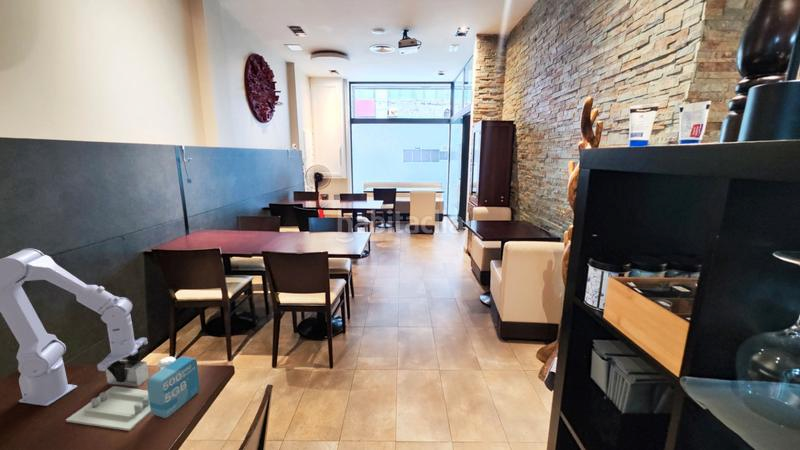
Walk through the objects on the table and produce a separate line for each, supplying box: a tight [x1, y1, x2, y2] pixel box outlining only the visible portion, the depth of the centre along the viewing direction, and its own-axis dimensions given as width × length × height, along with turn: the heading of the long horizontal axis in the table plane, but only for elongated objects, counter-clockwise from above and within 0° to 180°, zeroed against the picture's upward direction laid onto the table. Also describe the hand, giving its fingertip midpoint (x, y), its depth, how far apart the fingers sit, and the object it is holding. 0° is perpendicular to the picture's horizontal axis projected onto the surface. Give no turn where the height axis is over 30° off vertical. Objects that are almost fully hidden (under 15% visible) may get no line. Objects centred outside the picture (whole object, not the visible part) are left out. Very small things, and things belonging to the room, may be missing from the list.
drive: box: [105, 359, 150, 387], centre depth 102 cm, size 10×4×6 cm, turn 86°
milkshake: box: [157, 351, 178, 371], centre depth 101 cm, size 4×5×10 cm
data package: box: [146, 355, 201, 419], centre depth 93 cm, size 12×4×12 cm, turn 166°
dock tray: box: [65, 385, 151, 432], centre depth 91 cm, size 19×13×3 cm
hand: (127, 376), depth 102 cm, fingers closed on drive, 4 cm apart
